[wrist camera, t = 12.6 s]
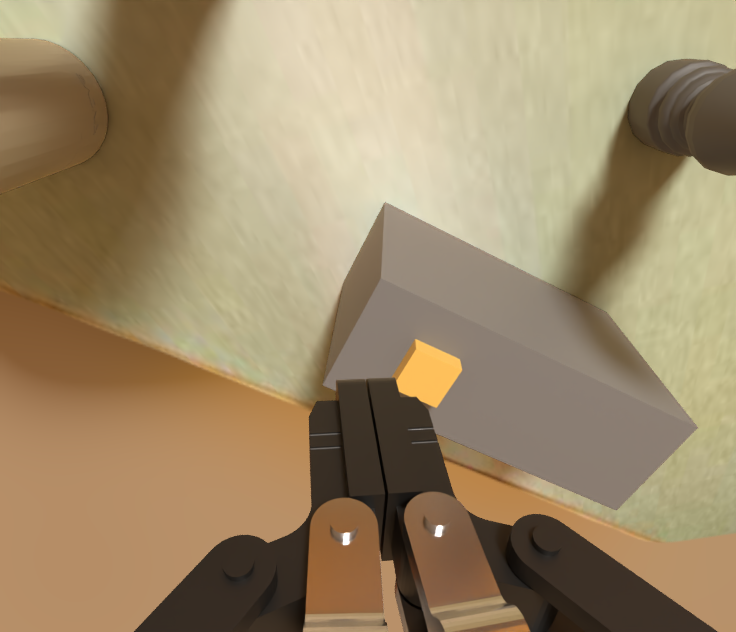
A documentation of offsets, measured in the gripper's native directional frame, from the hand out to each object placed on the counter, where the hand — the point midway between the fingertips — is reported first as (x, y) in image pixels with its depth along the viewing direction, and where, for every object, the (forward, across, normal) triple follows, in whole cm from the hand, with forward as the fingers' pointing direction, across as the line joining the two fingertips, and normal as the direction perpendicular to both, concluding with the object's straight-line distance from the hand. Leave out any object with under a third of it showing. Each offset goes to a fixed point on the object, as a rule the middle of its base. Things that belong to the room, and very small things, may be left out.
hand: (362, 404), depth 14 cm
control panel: (+29, -14, +15) cm, 35 cm away
